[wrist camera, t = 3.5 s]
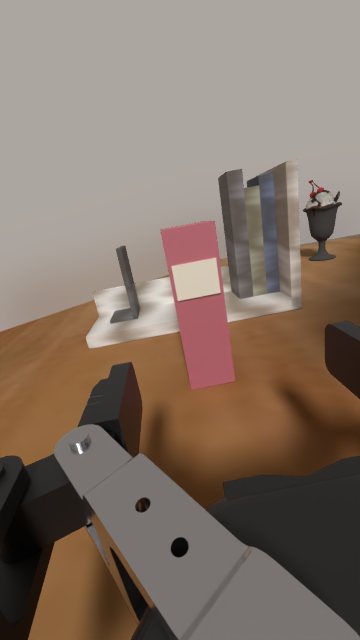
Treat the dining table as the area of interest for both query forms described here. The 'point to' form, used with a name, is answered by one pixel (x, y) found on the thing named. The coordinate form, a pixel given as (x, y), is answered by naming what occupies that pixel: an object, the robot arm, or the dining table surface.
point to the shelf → (238, 278)
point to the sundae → (322, 219)
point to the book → (199, 302)
